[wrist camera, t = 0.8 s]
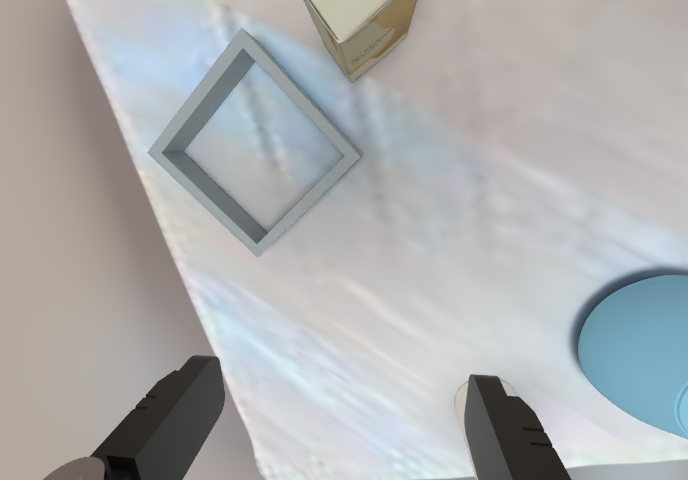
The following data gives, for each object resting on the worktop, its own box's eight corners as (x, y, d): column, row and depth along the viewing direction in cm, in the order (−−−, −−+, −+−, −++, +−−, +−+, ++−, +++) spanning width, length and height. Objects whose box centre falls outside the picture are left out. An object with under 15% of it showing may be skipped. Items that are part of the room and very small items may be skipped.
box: (256, 40, 29) (241, 27, 26) (362, 154, 31) (360, 156, 28) (170, 151, 33) (147, 152, 30) (269, 246, 35) (257, 257, 32)
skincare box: (351, 85, 30) (334, 51, 18) (322, 43, 29) (285, -21, 17) (410, 34, 28) (433, -38, 16) (381, -12, 27) (384, -122, 16)
